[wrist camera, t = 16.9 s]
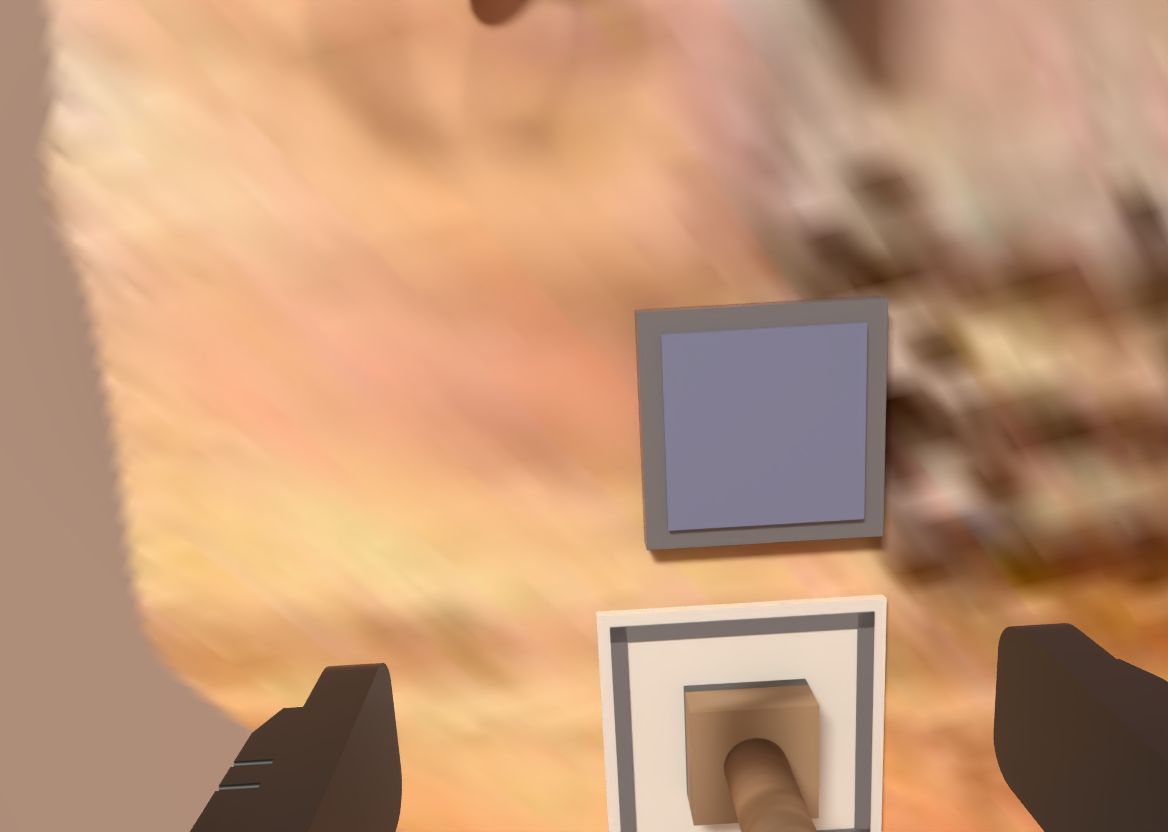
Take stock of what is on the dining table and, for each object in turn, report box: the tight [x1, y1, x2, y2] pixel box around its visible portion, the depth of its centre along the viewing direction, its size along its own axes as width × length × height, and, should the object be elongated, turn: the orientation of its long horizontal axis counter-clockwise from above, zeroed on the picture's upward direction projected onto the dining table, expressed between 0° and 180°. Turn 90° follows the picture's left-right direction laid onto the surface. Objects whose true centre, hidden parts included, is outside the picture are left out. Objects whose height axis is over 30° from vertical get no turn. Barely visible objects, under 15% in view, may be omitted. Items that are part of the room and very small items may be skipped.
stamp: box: [684, 679, 819, 832], centre depth 37 cm, size 6×6×10 cm
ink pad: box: [635, 296, 888, 550], centre depth 38 cm, size 11×11×2 cm
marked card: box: [596, 595, 887, 832], centre depth 42 cm, size 14×14×1 cm
